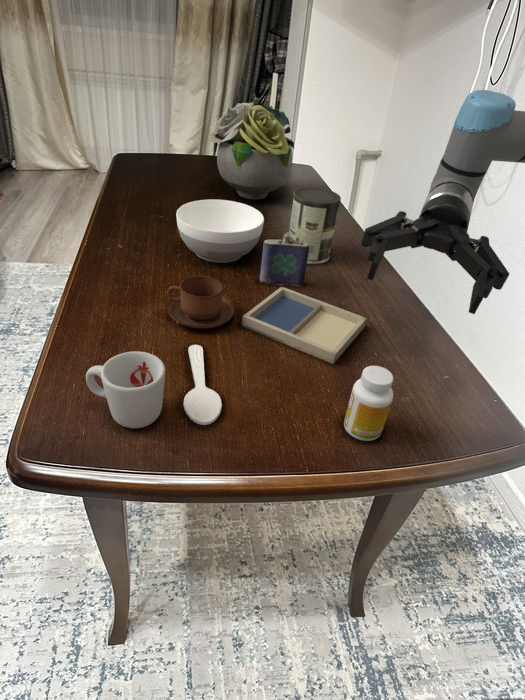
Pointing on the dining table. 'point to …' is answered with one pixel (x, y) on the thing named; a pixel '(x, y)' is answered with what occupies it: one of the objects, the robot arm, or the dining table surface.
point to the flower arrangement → (253, 149)
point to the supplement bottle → (369, 404)
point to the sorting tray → (305, 324)
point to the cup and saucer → (200, 303)
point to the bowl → (219, 229)
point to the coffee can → (314, 221)
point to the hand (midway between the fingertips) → (422, 288)
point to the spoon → (201, 392)
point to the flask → (284, 261)
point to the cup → (131, 387)
